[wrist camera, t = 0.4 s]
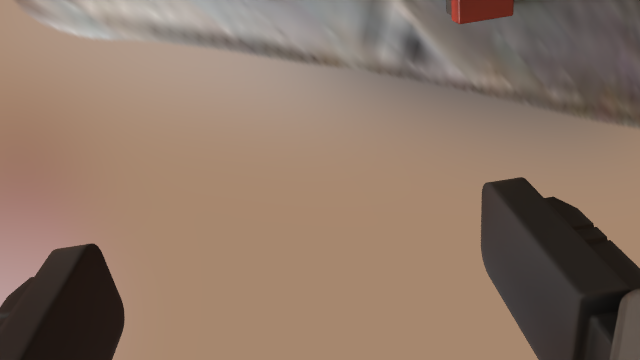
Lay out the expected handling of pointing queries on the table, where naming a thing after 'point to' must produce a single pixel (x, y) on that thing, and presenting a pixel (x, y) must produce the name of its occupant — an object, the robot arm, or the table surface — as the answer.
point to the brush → (478, 9)
